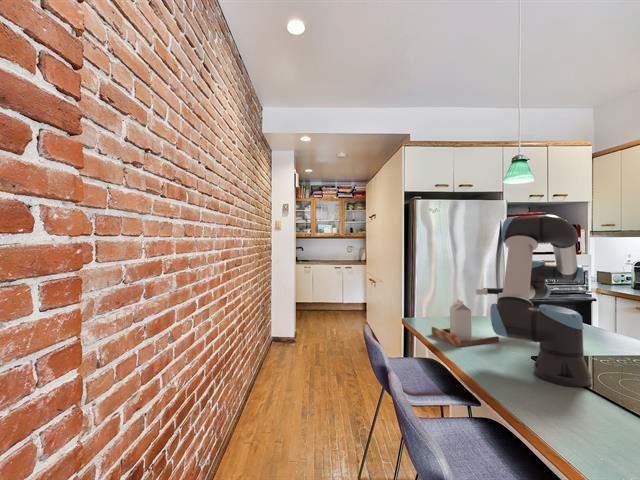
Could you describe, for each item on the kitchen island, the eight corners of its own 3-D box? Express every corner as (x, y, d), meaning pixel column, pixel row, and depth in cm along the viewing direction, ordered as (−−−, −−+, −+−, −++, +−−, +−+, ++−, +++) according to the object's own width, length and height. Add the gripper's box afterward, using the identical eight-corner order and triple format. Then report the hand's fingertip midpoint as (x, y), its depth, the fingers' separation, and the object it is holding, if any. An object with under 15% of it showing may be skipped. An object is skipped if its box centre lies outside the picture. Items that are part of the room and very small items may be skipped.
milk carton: (465, 338, 145) (464, 298, 145) (471, 343, 137) (471, 301, 138) (450, 338, 145) (449, 298, 145) (455, 343, 138) (454, 301, 138)
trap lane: (498, 341, 139) (498, 333, 139) (458, 347, 133) (458, 337, 133) (468, 330, 158) (468, 322, 158) (431, 334, 152) (431, 326, 152)
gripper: (546, 304, 140) (510, 306, 134) (500, 295, 164) (468, 297, 158) (546, 287, 140) (509, 289, 135) (500, 281, 164) (467, 283, 158)
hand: (487, 293), depth 146 cm, fingers open, 13 cm apart
